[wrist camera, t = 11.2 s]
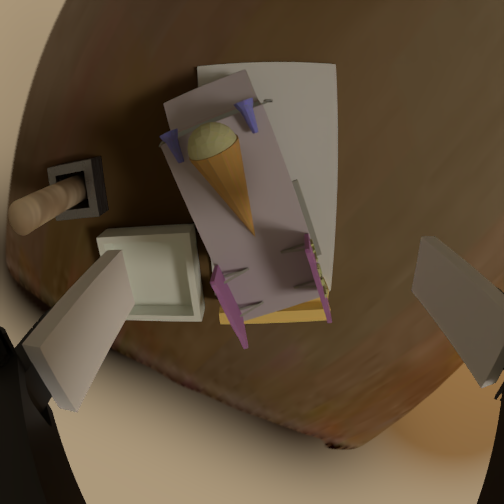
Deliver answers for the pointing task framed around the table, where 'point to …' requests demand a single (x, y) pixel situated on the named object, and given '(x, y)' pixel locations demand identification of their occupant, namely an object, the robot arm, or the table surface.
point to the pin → (46, 204)
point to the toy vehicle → (243, 201)
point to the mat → (300, 134)
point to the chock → (288, 313)
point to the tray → (160, 270)
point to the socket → (93, 186)
